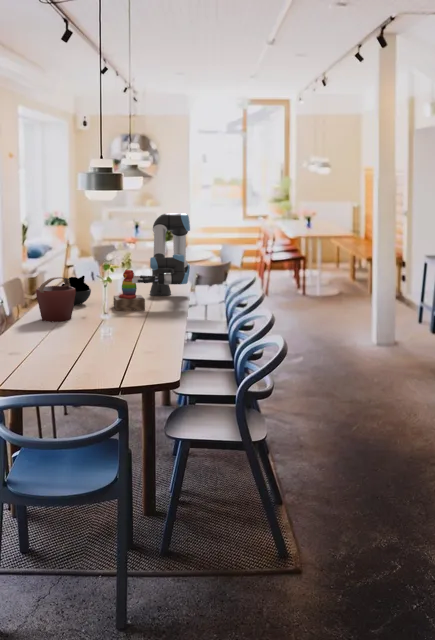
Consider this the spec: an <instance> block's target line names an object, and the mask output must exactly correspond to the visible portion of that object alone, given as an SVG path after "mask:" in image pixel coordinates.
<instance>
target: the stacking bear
mask: <svg viewBox="0 0 435 640" xmlns="http://www.w3.org/2000/svg"><path fill="white" fill-rule="evenodd" d="M134 273H135V272H134V271H133V270H132V269H125V270H124V272H123V274H122V276H123V280H122V285H121V290H122V293H121V294H119V295H118V296H119V298H126V299H133V298H136V295H137V294H136V292H137V283H132V279H133V277H134V276H135V274H134Z"/></svg>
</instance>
